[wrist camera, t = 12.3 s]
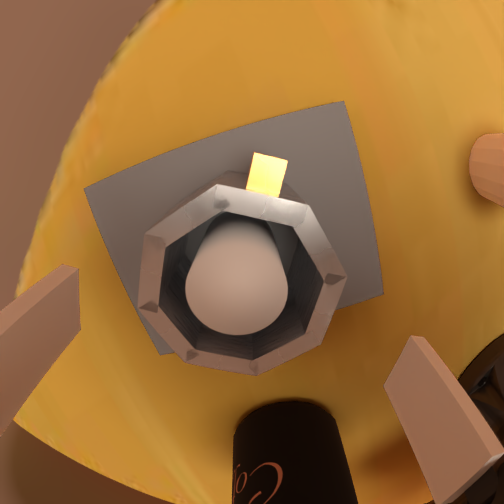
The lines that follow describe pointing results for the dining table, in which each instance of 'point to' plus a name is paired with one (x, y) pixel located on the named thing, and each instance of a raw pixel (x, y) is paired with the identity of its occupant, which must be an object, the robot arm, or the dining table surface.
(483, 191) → the tan cup
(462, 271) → the dining table surface
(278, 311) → the grey plate with knob
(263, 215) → the mug
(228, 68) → the dining table surface
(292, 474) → the coffee jar
